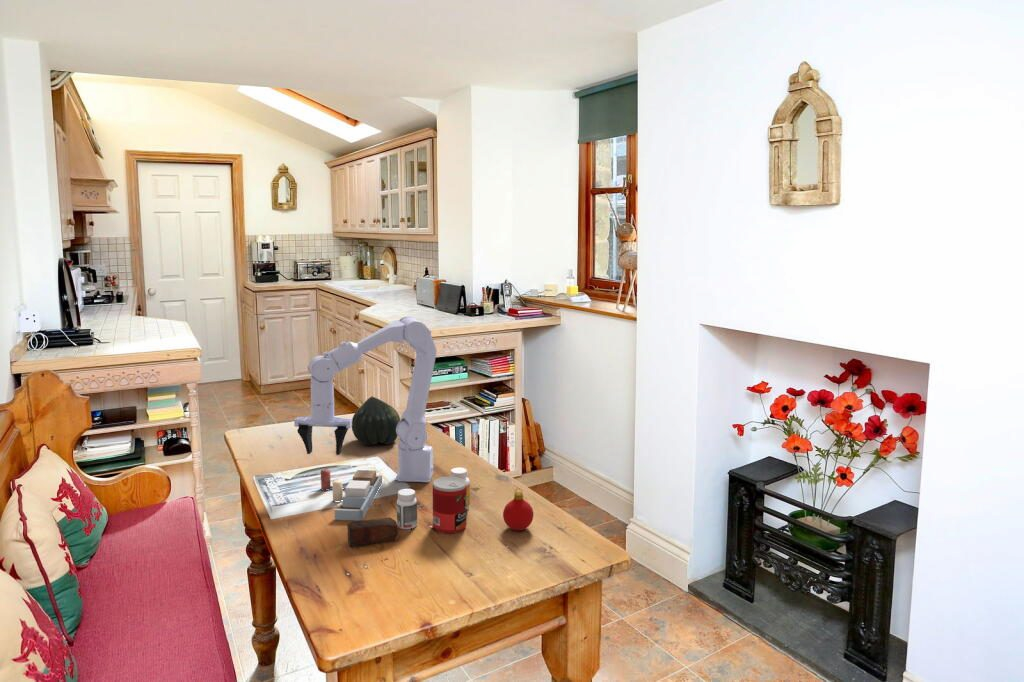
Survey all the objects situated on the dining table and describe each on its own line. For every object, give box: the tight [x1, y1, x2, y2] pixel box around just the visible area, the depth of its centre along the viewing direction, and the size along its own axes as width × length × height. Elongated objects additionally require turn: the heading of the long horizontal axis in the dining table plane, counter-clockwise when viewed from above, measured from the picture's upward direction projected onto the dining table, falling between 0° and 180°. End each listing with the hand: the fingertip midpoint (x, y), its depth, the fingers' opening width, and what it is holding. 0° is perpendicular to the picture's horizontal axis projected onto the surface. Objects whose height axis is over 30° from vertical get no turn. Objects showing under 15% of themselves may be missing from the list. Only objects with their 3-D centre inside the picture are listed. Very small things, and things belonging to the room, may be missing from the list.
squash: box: [351, 396, 401, 446], centre depth 225 cm, size 14×15×15 cm
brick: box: [346, 516, 399, 549], centre depth 160 cm, size 11×4×5 cm, turn 112°
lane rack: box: [334, 475, 383, 522], centre depth 181 cm, size 7×22×2 cm, turn 178°
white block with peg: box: [331, 479, 370, 502], centre depth 181 cm, size 9×5×5 cm, turn 88°
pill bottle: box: [396, 488, 418, 530], centre depth 167 cm, size 5×5×8 cm
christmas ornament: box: [502, 487, 534, 531], centre depth 166 cm, size 7×7×10 cm
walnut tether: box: [320, 468, 377, 491], centre depth 188 cm, size 14×5×5 cm, turn 88°
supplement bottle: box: [450, 467, 471, 510], centre depth 178 cm, size 5×5×10 cm
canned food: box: [432, 476, 468, 534], centre depth 167 cm, size 8×8×11 cm
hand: (324, 453), depth 186 cm, fingers open, 7 cm apart
